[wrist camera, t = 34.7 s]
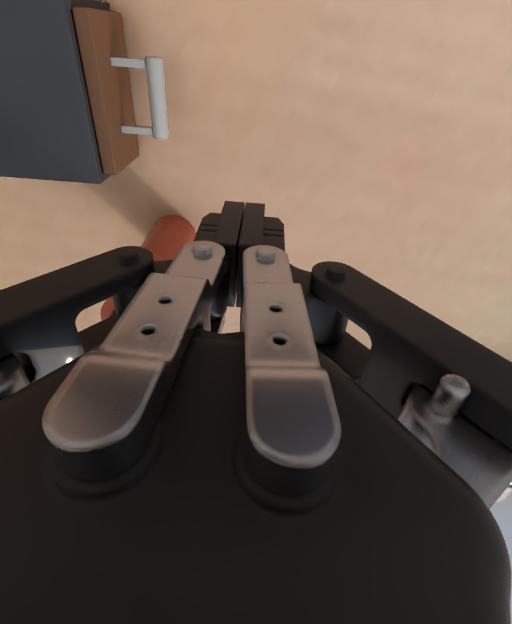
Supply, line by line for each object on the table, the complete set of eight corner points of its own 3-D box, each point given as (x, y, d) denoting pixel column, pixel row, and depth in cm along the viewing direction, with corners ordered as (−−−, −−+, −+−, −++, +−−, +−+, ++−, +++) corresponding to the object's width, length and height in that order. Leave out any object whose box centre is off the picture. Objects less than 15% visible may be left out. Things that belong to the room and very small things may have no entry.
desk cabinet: (109, 3, 31) (62, -7, 24) (131, 158, 38) (100, 184, 32) (-61, -10, 31) (-157, -24, 24) (-5, 147, 38) (-66, 171, 31)
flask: (155, 254, 45) (95, 362, 30) (150, 213, 42) (80, 311, 27) (197, 257, 45) (159, 367, 30) (196, 217, 42) (152, 317, 27)
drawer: (170, 16, 30) (148, 12, 25) (180, 158, 37) (163, 178, 32) (-39, 0, 30) (-107, -8, 25) (10, 145, 37) (-35, 163, 32)
